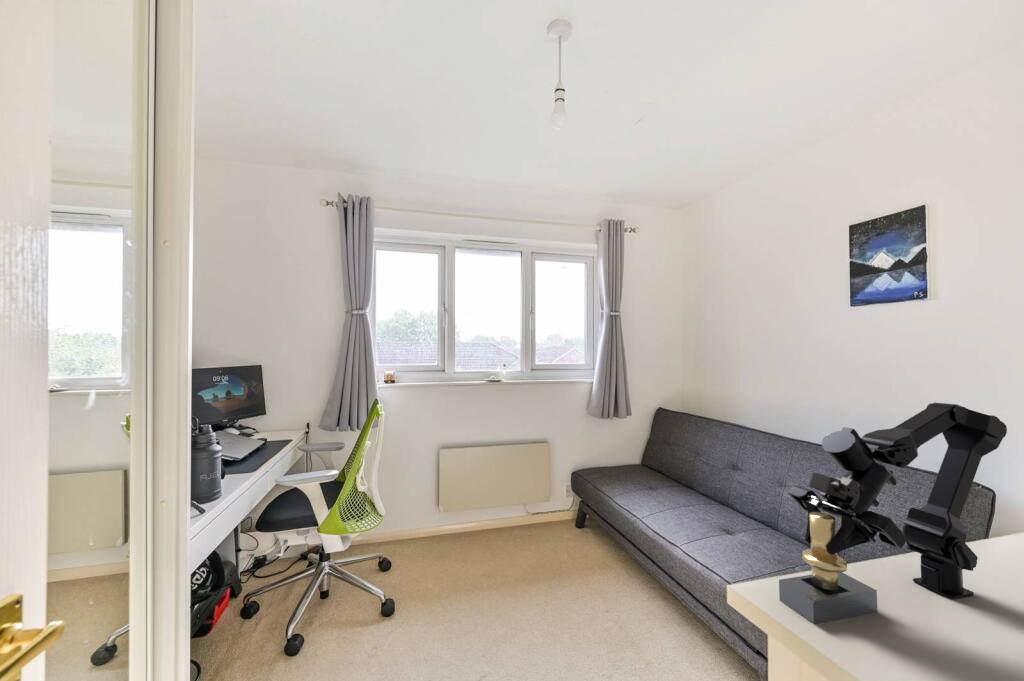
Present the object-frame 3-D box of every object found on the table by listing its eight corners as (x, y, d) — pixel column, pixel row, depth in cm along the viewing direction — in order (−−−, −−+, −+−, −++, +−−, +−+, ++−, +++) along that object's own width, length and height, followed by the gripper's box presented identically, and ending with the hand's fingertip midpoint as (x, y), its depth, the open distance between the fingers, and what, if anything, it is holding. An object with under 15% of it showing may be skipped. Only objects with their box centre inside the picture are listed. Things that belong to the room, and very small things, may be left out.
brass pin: (830, 574, 79) (827, 509, 79) (857, 595, 72) (854, 523, 72) (795, 573, 79) (792, 508, 80) (819, 593, 72) (816, 523, 73)
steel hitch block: (839, 590, 80) (838, 570, 81) (877, 611, 74) (876, 590, 74) (779, 600, 77) (778, 579, 77) (813, 623, 70) (812, 601, 71)
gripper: (793, 448, 86) (753, 502, 84) (889, 472, 68) (841, 543, 65) (824, 481, 88) (785, 536, 85) (926, 514, 69) (881, 584, 67)
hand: (817, 547), depth 76 cm, fingers closed on brass pin, 4 cm apart
